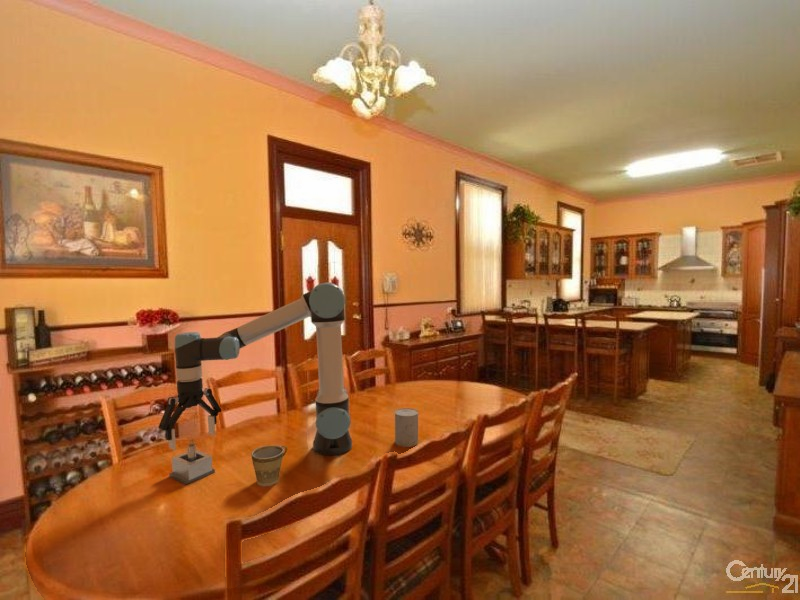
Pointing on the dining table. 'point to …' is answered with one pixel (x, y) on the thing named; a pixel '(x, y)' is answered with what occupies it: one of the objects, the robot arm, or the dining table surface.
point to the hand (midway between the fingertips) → (193, 441)
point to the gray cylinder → (406, 427)
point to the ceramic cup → (268, 464)
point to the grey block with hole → (191, 465)
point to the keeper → (191, 458)
